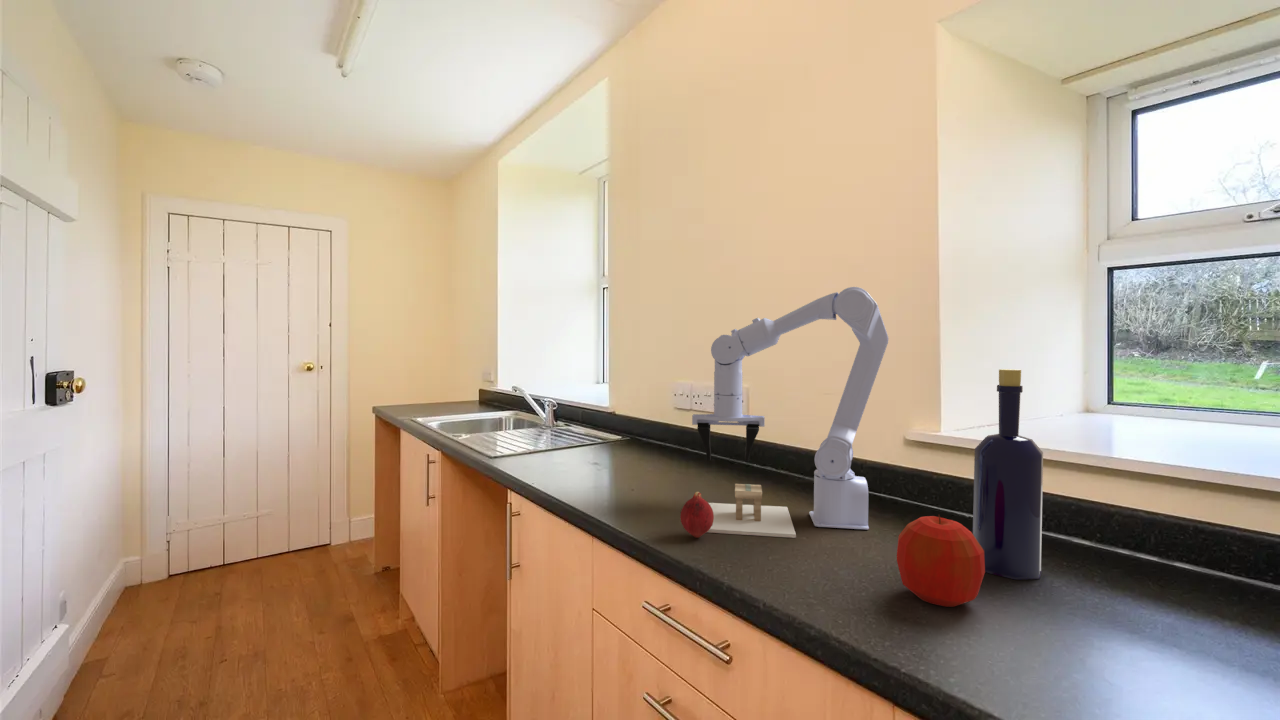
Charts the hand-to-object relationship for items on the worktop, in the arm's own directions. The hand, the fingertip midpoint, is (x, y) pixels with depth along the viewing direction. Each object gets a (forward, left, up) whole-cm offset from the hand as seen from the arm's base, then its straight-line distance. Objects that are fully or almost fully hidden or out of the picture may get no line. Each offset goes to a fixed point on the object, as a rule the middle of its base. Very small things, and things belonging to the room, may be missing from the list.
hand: (727, 460), depth 110 cm
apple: (-28, +35, -10) cm, 46 cm away
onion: (+5, +18, -10) cm, 21 cm away
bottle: (-42, +22, -10) cm, 48 cm away
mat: (-4, +7, -10) cm, 13 cm away
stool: (-4, +7, -9) cm, 12 cm away
